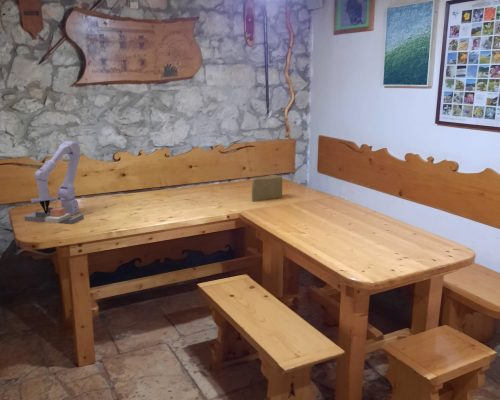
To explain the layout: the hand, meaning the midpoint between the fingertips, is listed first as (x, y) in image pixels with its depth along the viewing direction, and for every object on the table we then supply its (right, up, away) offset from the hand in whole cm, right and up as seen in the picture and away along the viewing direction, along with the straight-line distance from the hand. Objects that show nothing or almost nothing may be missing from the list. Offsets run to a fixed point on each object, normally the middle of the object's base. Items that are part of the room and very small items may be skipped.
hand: (46, 213), depth 295 cm
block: (+8, -1, -1) cm, 8 cm away
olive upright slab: (+130, +8, +40) cm, 137 cm away
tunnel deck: (+5, -4, 0) cm, 6 cm away
